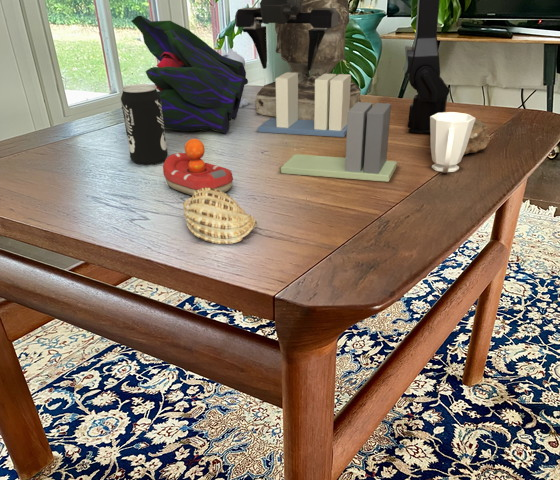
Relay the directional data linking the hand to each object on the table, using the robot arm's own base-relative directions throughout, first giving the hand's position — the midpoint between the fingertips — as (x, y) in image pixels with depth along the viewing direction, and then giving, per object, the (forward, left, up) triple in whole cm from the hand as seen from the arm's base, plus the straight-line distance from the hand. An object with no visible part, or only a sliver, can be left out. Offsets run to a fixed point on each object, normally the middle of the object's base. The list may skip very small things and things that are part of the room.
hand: (286, 69), depth 114 cm
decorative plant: (+22, +4, -11) cm, 25 cm away
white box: (0, -1, -10) cm, 10 cm away
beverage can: (+17, +27, -11) cm, 34 cm away
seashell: (-8, +54, -11) cm, 56 cm away
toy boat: (+2, +39, -11) cm, 41 cm away
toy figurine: (+19, -20, -11) cm, 30 cm away
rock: (-35, +7, -11) cm, 37 cm away
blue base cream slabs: (-4, -1, -11) cm, 12 cm away
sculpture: (0, -17, -11) cm, 20 cm away
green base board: (-17, +24, -11) cm, 32 cm away
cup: (-34, +20, -11) cm, 41 cm away
